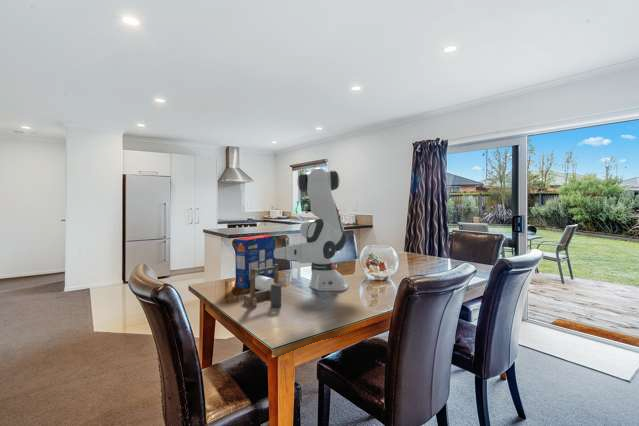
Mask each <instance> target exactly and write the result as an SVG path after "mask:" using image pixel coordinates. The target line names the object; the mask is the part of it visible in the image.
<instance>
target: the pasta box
mask: <svg viewBox="0 0 639 426" xmlns="http://www.w3.org/2000/svg"><path fill="white" fill-rule="evenodd" d="M234 243H235V247H234V248H235V250H234V251H235V255H234V256H235V257H234V258H235V288H237V289H241V290H242V289H243V290H248V289H250V268H255V269H260V268H266V267H271V266H274V264H276V258H274V250H275V249H276V235H273V234H262V235H254V236H249V237H248V236H247V237H243V238H235V242H234ZM258 275H261V276H265V277H269V278H273V279H274V270H269V271H268V275H265V271H263V272H258V273H255V277H256V276H258Z"/></svg>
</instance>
